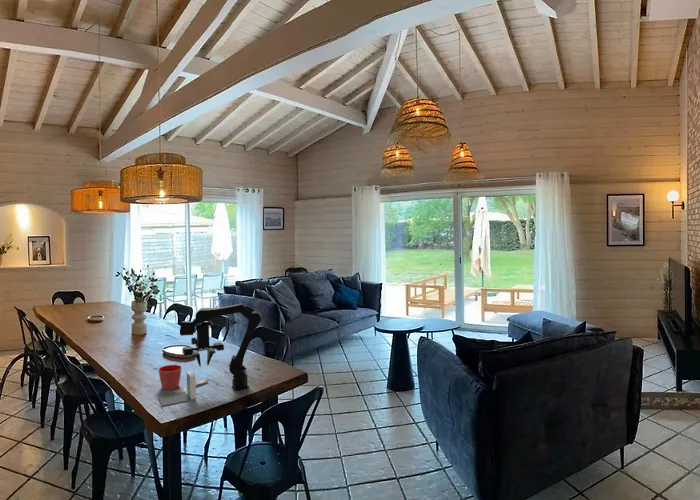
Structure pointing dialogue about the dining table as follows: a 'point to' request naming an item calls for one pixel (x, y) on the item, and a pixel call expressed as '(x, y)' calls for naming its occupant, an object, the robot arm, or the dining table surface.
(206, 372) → the dining table surface
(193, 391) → the tile
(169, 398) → the mat
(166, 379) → the flower pot
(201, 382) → the spatula
